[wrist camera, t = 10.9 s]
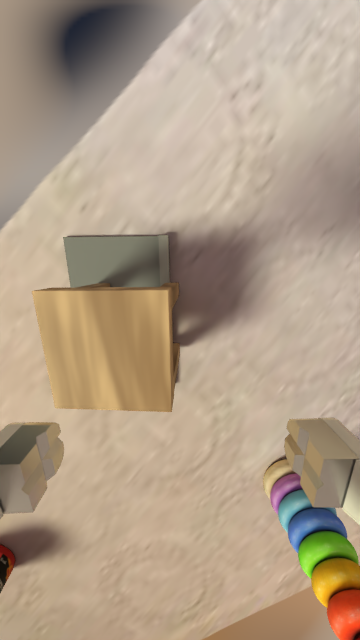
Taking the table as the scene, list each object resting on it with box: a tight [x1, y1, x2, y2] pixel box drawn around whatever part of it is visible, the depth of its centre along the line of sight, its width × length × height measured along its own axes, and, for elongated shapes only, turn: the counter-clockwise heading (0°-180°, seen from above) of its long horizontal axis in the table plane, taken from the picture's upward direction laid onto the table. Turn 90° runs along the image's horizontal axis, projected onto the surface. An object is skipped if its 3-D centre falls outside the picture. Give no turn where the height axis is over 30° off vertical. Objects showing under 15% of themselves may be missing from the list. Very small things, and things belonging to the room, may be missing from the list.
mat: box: [63, 235, 170, 288], centre depth 24 cm, size 11×18×1 cm, turn 1°
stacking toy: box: [263, 459, 360, 640], centre depth 22 cm, size 8×8×19 cm
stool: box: [32, 283, 180, 412], centre depth 19 cm, size 10×9×9 cm
